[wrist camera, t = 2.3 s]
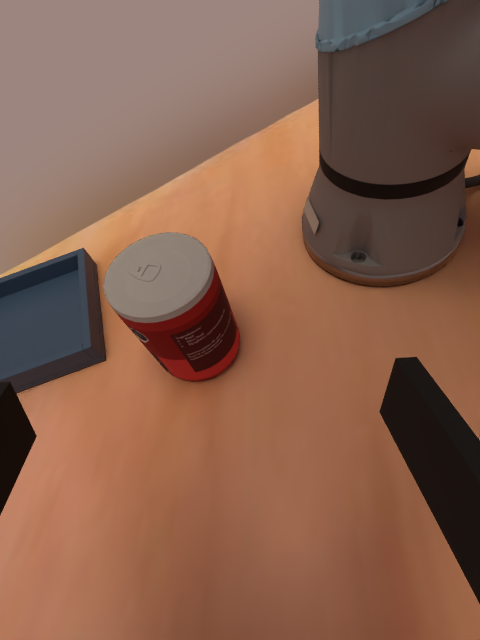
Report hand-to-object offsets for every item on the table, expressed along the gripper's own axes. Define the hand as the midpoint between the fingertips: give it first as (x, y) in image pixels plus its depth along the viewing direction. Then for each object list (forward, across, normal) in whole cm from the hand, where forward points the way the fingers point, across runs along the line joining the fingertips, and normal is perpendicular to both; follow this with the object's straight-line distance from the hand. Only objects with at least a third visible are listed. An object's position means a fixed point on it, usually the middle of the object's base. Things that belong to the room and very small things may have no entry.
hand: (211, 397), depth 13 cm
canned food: (+18, -1, -12) cm, 22 cm away
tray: (+24, -19, -13) cm, 34 cm away
